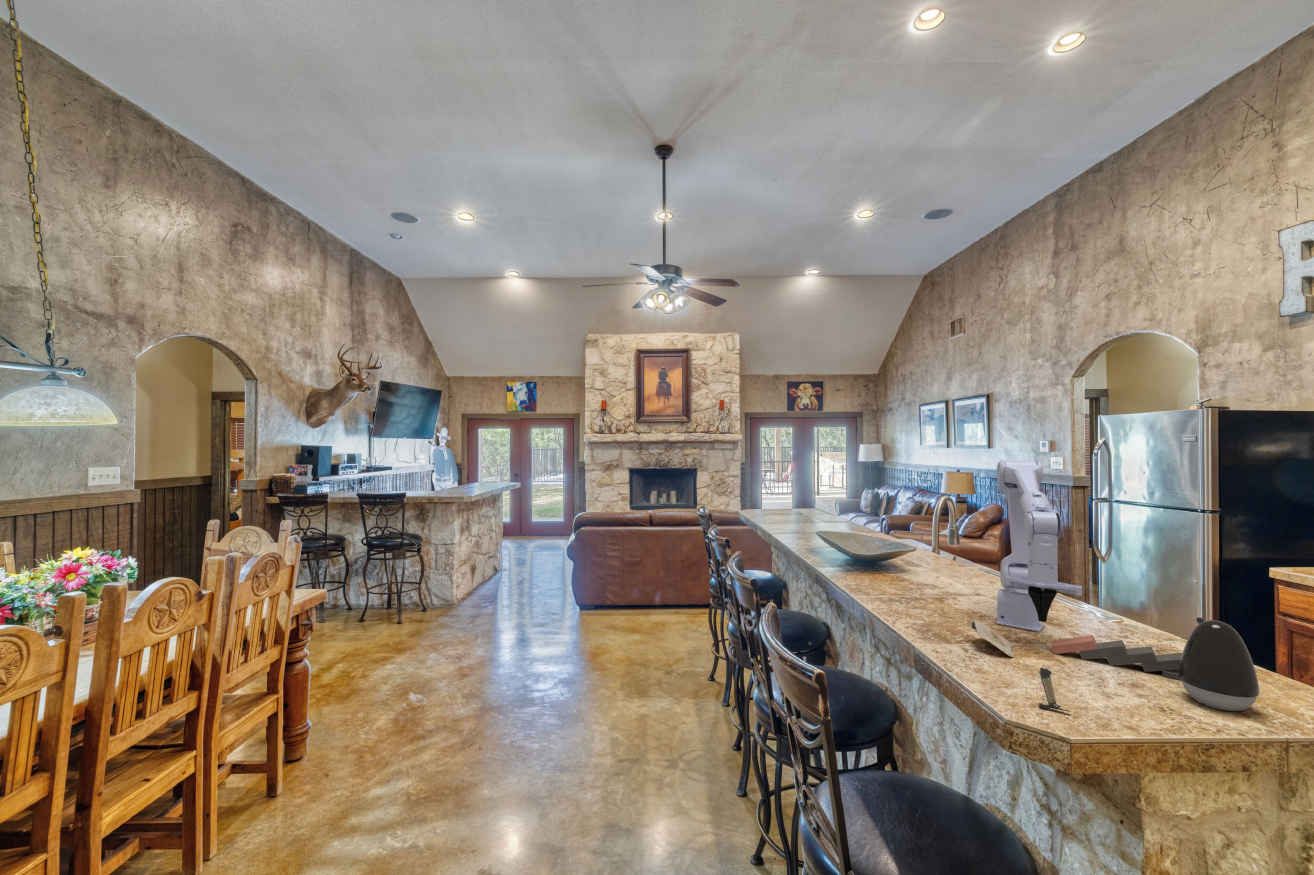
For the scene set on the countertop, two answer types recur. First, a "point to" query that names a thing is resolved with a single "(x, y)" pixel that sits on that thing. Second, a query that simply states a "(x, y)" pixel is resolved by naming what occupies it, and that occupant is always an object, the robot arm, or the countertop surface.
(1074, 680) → the countertop surface
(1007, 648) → the wooden slab
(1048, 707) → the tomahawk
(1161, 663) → the domino
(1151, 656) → the domino
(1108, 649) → the domino
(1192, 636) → the black and grey speaker
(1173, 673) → the domino
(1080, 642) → the loose domino
